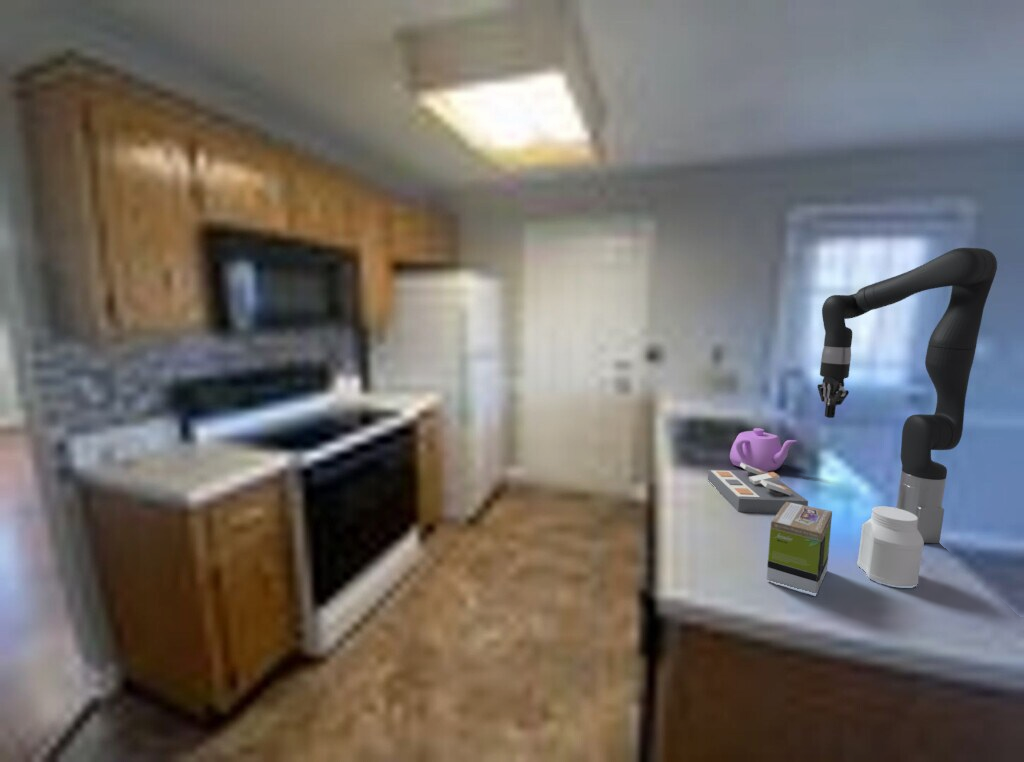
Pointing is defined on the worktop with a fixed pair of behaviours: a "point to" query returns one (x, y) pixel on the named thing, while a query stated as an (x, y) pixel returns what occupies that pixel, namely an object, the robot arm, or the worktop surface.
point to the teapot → (759, 450)
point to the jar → (891, 547)
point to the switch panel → (751, 492)
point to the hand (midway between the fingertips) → (829, 417)
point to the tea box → (799, 546)
